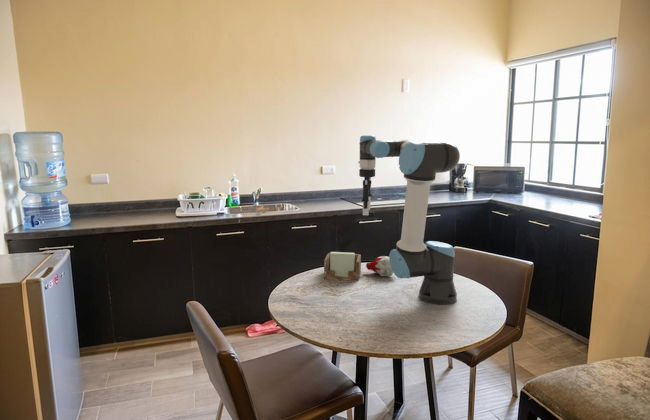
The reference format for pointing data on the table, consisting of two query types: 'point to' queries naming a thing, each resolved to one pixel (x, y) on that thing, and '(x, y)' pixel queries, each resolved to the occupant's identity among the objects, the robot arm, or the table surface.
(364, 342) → the table surface
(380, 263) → the white and red lump
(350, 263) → the door
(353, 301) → the table surface
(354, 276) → the cabinet
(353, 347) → the table surface
